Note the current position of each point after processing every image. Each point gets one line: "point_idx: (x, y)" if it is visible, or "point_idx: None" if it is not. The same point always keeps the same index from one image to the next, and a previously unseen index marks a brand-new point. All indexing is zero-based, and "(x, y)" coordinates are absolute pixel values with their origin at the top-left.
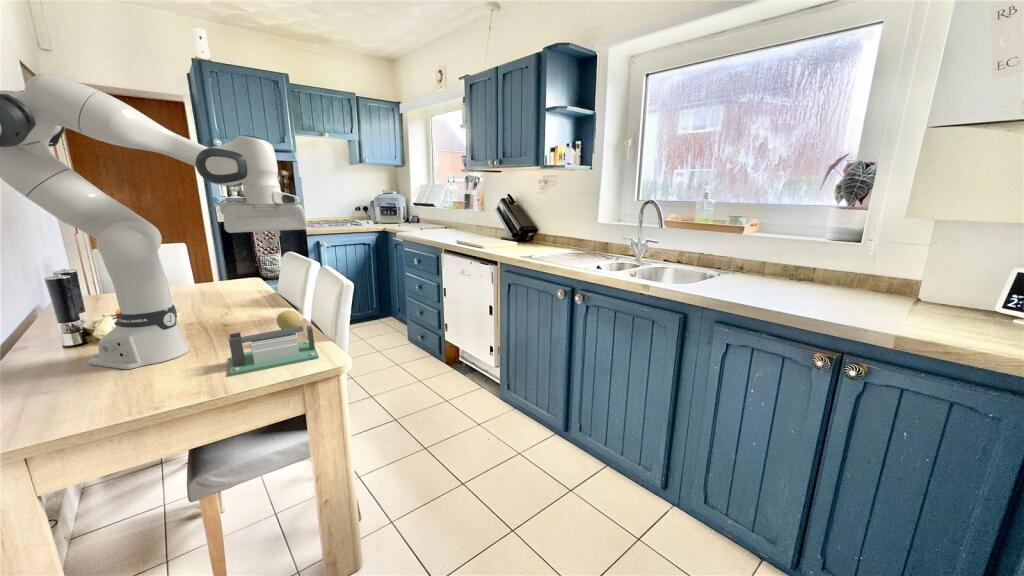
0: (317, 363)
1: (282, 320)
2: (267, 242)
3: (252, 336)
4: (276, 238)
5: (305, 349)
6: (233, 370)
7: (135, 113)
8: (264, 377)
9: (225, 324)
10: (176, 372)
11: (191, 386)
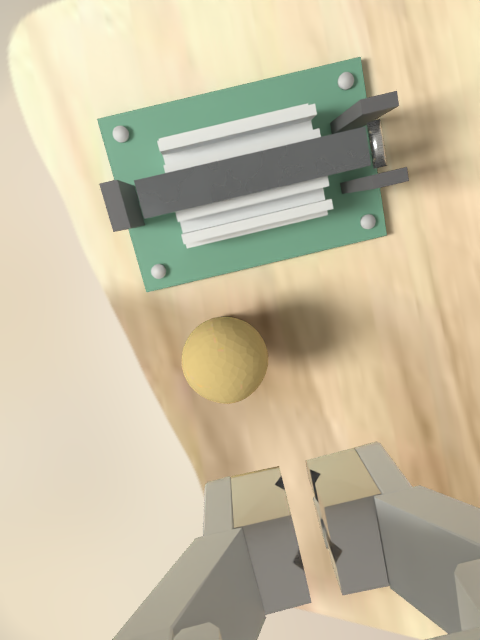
0: (96, 70)
1: (240, 325)
2: (339, 489)
3: (321, 153)
4: (200, 561)
5: None
6: (353, 79)
7: None
8: (250, 4)
9: None
10: None
11: (450, 17)
